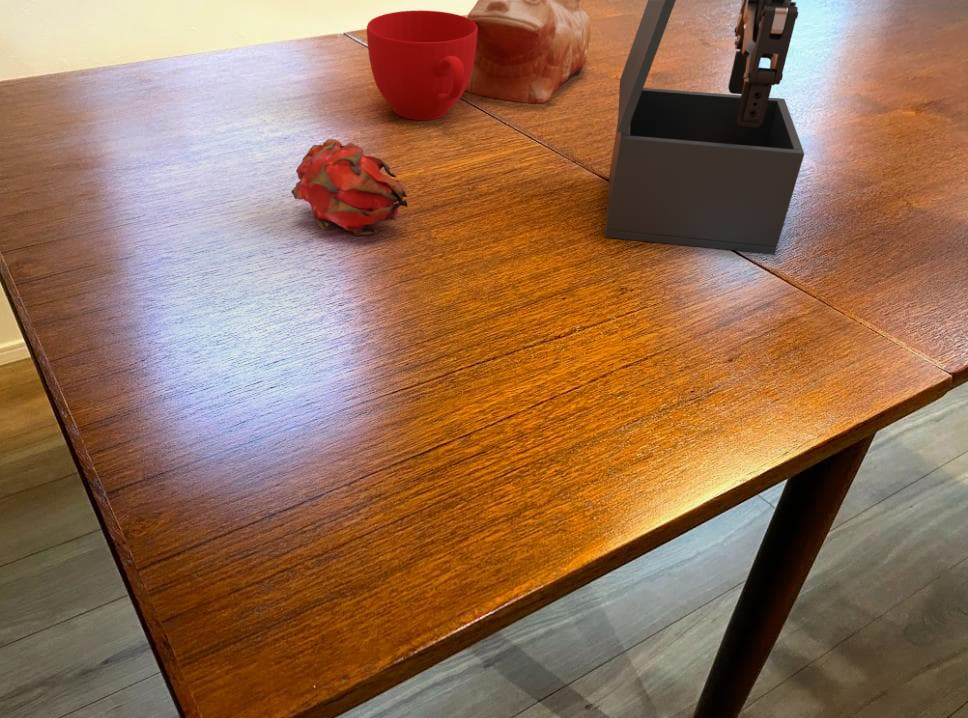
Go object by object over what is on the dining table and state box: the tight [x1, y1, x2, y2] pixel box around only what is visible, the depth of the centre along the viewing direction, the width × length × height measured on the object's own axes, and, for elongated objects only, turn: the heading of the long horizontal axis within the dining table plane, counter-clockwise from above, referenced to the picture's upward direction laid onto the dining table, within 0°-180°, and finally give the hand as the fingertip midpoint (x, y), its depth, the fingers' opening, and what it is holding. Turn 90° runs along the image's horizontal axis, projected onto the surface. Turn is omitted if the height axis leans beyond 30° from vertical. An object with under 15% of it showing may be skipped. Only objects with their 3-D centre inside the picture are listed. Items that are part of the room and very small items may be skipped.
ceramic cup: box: [366, 9, 478, 121], centre depth 104 cm, size 13×17×10 cm
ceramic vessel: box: [464, 0, 592, 105], centre depth 114 cm, size 14×26×15 cm, turn 155°
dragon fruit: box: [290, 138, 409, 236], centre depth 83 cm, size 8×8×12 cm
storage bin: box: [605, 87, 805, 255], centre depth 85 cm, size 16×14×10 cm
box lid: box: [617, 0, 677, 134], centre depth 77 cm, size 16×14×6 cm
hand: (743, 108), depth 81 cm, fingers open, 8 cm apart
